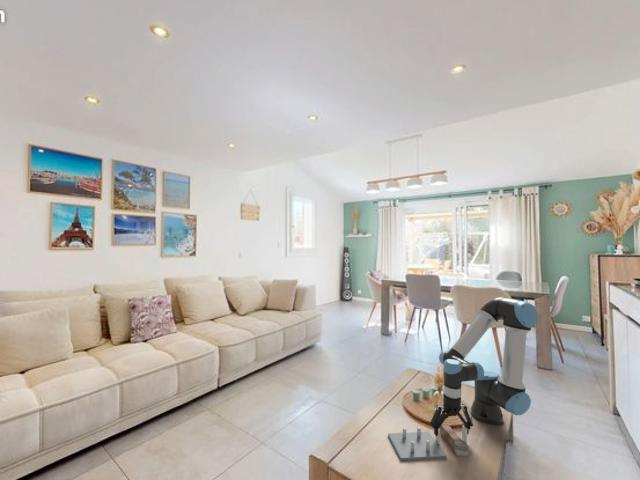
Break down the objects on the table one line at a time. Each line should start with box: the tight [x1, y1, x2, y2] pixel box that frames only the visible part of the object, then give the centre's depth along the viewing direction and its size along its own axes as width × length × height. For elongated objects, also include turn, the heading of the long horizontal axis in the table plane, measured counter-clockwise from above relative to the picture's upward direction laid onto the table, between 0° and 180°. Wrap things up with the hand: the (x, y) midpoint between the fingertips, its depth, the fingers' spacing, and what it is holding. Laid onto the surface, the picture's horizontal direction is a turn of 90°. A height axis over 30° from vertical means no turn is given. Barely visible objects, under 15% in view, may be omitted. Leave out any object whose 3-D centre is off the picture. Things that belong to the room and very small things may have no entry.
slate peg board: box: [387, 426, 447, 462], centre depth 131 cm, size 20×16×5 cm
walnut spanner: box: [439, 423, 469, 457], centre depth 134 cm, size 16×5×4 cm, turn 6°
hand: (451, 441), depth 135 cm, fingers open, 12 cm apart
